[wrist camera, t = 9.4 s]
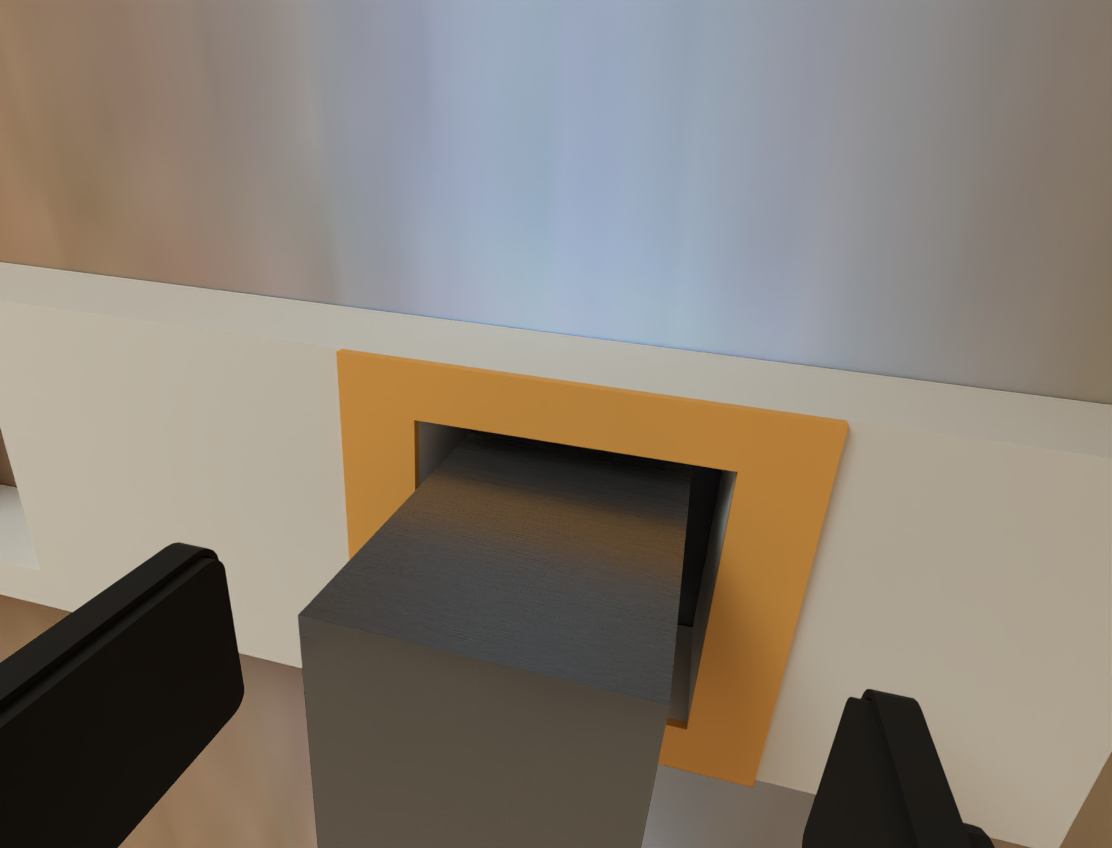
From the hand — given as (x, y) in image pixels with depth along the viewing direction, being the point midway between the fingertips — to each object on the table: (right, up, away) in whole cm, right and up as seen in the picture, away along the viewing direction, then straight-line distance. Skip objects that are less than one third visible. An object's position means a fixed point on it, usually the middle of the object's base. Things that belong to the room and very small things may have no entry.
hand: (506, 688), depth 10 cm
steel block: (+1, +2, +6) cm, 6 cm away
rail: (-6, +3, +7) cm, 10 cm away
